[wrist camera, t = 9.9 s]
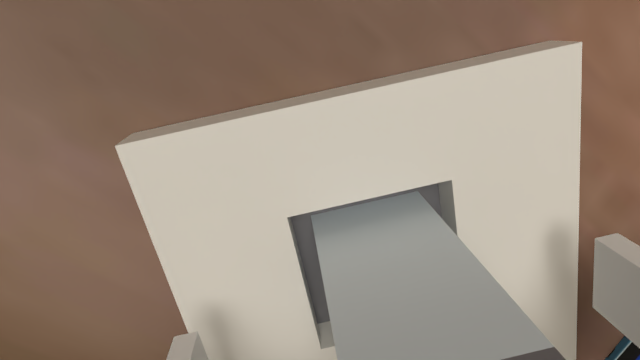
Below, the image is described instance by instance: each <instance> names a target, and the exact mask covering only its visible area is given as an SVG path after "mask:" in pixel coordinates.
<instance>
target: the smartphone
mask: <svg viewBox="0 0 640 360" xmlns="http://www.w3.org/2000/svg"><path fill="white" fill-rule="evenodd" d="M605 360H640V348H639V347H637V346H636V345H635V344H634V343H633V342H632V341H631V340H629V339H628V338H627V337H625V336H624V337H623V339H622V340H621V341H620V342H619V343H618V345H617V346H616V347H615V350H614V351H613V352H612V353H611V354H610V355H609V357H608V358H607V357H606V358H605Z"/></svg>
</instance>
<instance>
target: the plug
mask: <svg viewBox="0 0 640 360" xmlns="http://www.w3.org/2000/svg"><path fill="white" fill-rule="evenodd" d="M311 220H312V225H313V230H314V236H315V241H316V247H317V252H318V257H319V263H320V268H321V274H322V279H323V284H324V290H325V295H326V301H327V306H328V311H329V317H330V322H331V328H332V333H333V338H334V344H335V349H336V355H337V360H566V359H565V358H564V357H563V356H562V355H561V354H560V353H559V351H558V350H557V349H556V348H555V347H554V346H553V345H552V343H551V342H550V341H549V340H548V339H547V338H546V337H545V335H544V334H543V333H542V332H541V331H540V330H539V329H538V327H537V326H536V325H535V324H534V323H533V322H532V321H531V319H530V318H529V317H528V316H527V315H526V314H525V313H524V311H523V310H522V309H521V308H520V307H519V306H518V305H517V304H516V302H515V301H514V300H513V299H512V298H511V297H510V296H509V294H508V293H507V292H506V291H505V290H504V289H503V288H502V286H501V285H500V284H499V283H498V282H497V281H496V280H495V278H494V277H493V276H492V275H491V274H490V273H489V272H488V270H487V269H486V268H485V267H484V266H483V265H482V264H481V263H480V261H479V260H478V259H477V258H476V257H475V256H474V255H473V253H472V252H471V251H470V250H469V249H468V248H467V247H466V245H465V244H464V243H463V242H462V241H461V240H460V239H459V237H458V236H457V235H456V234H455V233H454V232H453V231H452V229H451V228H450V227H449V226H448V225H447V224H446V223H445V221H444V220H443V219H442V218H441V217H440V216H439V215H438V214H437V212H436V211H435V210H434V209H433V208H432V207H431V206H430V204H429V203H428V202H427V201H426V200H425V199H424V198H423V196H422V195H421V194H420V193H419V192H418V191H416V192H411V193H407V194H403V195H398V196H394V197H389V198H385V199H381V200H376V201H372V202H368V203H363V204H359V205H354V206H350V207H346V208H341V209H337V210H333V211H328V212H324V213H320V214H315V215H311Z"/></svg>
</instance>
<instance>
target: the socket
mask: <svg viewBox="0 0 640 360" xmlns="http://www.w3.org/2000/svg"><path fill="white" fill-rule="evenodd" d="M581 75H582V42H572V41H545V42H541V43H536V44H532V45H527V46H523V47H518V48H514V49H509V50H505V51H500V52H496V53H491V54H487V55H482V56H478V57H473V58H469V59H464V60H460V61H455V62H451V63H446V64H442V65H438V66H433V67H429V68H424V69H420V70H415V71H411V72H406V73H402V74H397V75H393V76H388V77H384V78H379V79H375V80H370V81H366V82H361V83H357V84H352V85H348V86H343V87H339V88H334V89H330V90H325V91H321V92H316V93H312V94H307V95H303V96H298V97H294V98H289V99H285V100H280V101H276V102H271V103H267V104H262V105H258V106H253V107H249V108H244V109H240V110H235V111H231V112H226V113H222V114H217V115H213V116H208V117H204V118H199V119H195V120H190V121H186V122H181V123H177V124H172V125H168V126H163V127H159V128H154V129H150V130H145V131H141V132H136V133H132V134H131V135H129V136H128V137H127V138H125V139H124V140H122V141H121V142H120V143H118V144H117V145H115V148H116V150H117V153H118V156H119V158H120V161H121V163H122V166H123V168H124V171H125V173H126V176H127V178H128V181H129V183H130V186H131V189H132V191H133V194H134V196H135V199H136V201H137V204H138V206H139V209H140V211H141V214H142V217H143V219H144V222H145V224H146V227H147V229H148V232H149V234H150V237H151V239H152V242H153V244H154V247H155V250H156V252H157V255H158V257H159V260H160V262H161V265H162V267H163V270H164V272H165V275H166V277H167V280H168V283H169V285H170V288H171V290H172V293H173V295H174V298H175V300H176V303H177V305H178V308H179V311H180V313H181V316H182V318H183V321H184V323H185V326H186V328H187V331H188V333H192V332H197V331H198V333H199V336H200V339H201V341H202V344H203V346H204V349H205V352H206V354H207V357H208V359H209V360H337V355H336V349H335V344H334V338H333V333H332V328H331V322H330V317H329V311H328V306H327V301H326V295H325V290H324V284H323V279H322V274H321V268H320V263H319V257H318V252H317V247H316V241H315V236H314V230H313V225H312V220H311V215H315V214H320V213H324V212H328V211H333V210H337V209H341V208H346V207H350V206H354V205H359V204H363V203H368V202H372V201H376V200H381V199H385V198H389V197H394V196H398V195H403V194H407V193H411V192H416V191H418V192H419V193H420V194H421V195H422V196H423V198H424V199H425V200H426V201H427V202H428V203H429V204H430V206H431V207H432V208H433V209H434V210H435V211H436V212H437V214H438V215H439V216H440V217H441V218H442V219H443V220H444V221H445V223H446V224H447V225H448V226H449V227H450V228H451V229H452V231H453V232H454V233H455V234H456V235H457V236H458V237H459V239H460V240H461V241H462V242H463V243H464V244H465V245H466V247H467V248H468V249H469V250H470V251H471V252H472V253H473V255H474V256H475V257H476V258H477V259H478V260H479V261H480V263H481V264H482V265H483V266H484V267H485V268H486V269H487V270H488V272H489V273H490V274H491V275H492V276H493V277H494V278H495V280H496V281H497V282H498V283H499V284H500V285H501V286H502V288H503V289H504V290H505V291H506V292H507V293H508V294H509V296H510V297H511V298H512V299H513V300H514V301H515V302H516V304H517V305H518V306H519V307H520V308H521V309H522V310H523V311H524V313H525V314H526V315H527V316H528V317H529V318H530V319H531V321H532V322H533V323H534V324H535V325H536V326H537V327H538V329H539V330H540V331H541V332H542V333H543V334H544V335H545V337H546V338H547V339H548V340H549V341H550V342H551V343H552V345H553V346H554V347H555V348H556V349H557V350H558V351H559V353H560V354H561V355H562V356H563V357H564V358H565V359H566V360H576V343H577V289H578V236H579V182H580V128H581Z"/></svg>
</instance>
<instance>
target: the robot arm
mask: <svg viewBox="0 0 640 360" xmlns="http://www.w3.org/2000/svg"><path fill="white" fill-rule="evenodd" d="M593 308H594V309H595V310H596V311H598V312H599V313H600V314H601V315H602V316H603V317H604V318H605V319H607V320H608V321H609V322H610V323H611V324H612V325H613V326H615V327H616V328H617V329H618V330H619V331H620V332H621V333H623V334H624V335H625V336H626V337H627V338H628V339H629V340H631V341H632V342H633V343H634V344H635V345H636V346H637V347H639V348H640V246H638V245H637V244H635V243H633V242H632V241H630V240H628V239H627V238H625V237H623V236H622V235H620V234H618V233H616V234H611V235H607V236H603V237H599V238H595V251H594V280H593ZM166 360H209V359H208V357H207V354H206V352H205V349H204V346H203V344H202V341H201V339H200V336H199V333H198V331H197V332H192V333H188V334H184V335H179V336H175V337H174V338H173V341H172V344H171V347H170V350H169V353H168V356H167V359H166Z"/></svg>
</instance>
